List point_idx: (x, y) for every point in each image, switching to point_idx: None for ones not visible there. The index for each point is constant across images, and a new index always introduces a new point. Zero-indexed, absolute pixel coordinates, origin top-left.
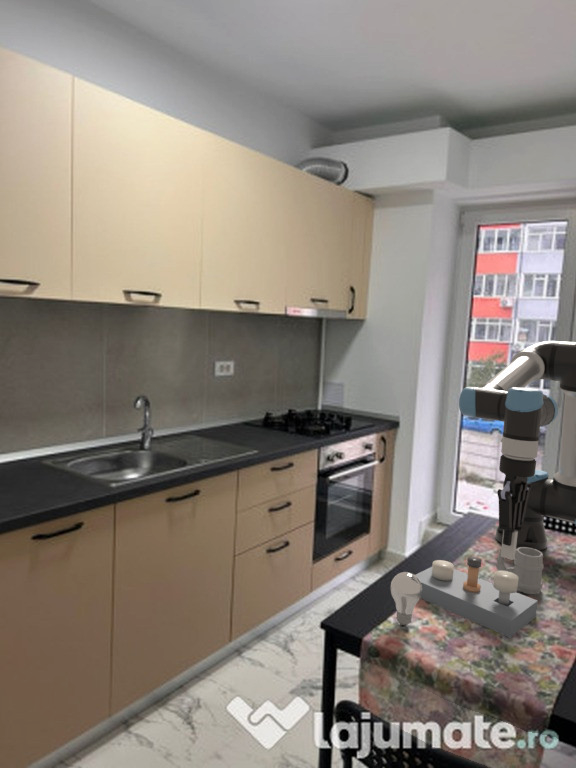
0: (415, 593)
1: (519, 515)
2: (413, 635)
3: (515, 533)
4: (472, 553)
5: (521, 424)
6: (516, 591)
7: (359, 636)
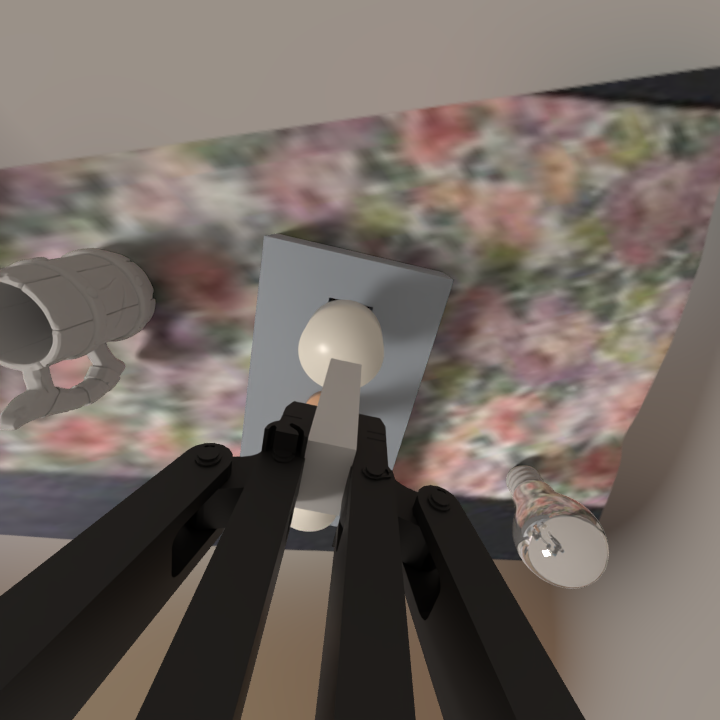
0: (593, 518)
1: (261, 547)
2: (549, 444)
3: (348, 441)
4: (30, 455)
5: None
6: (349, 300)
7: (601, 512)
